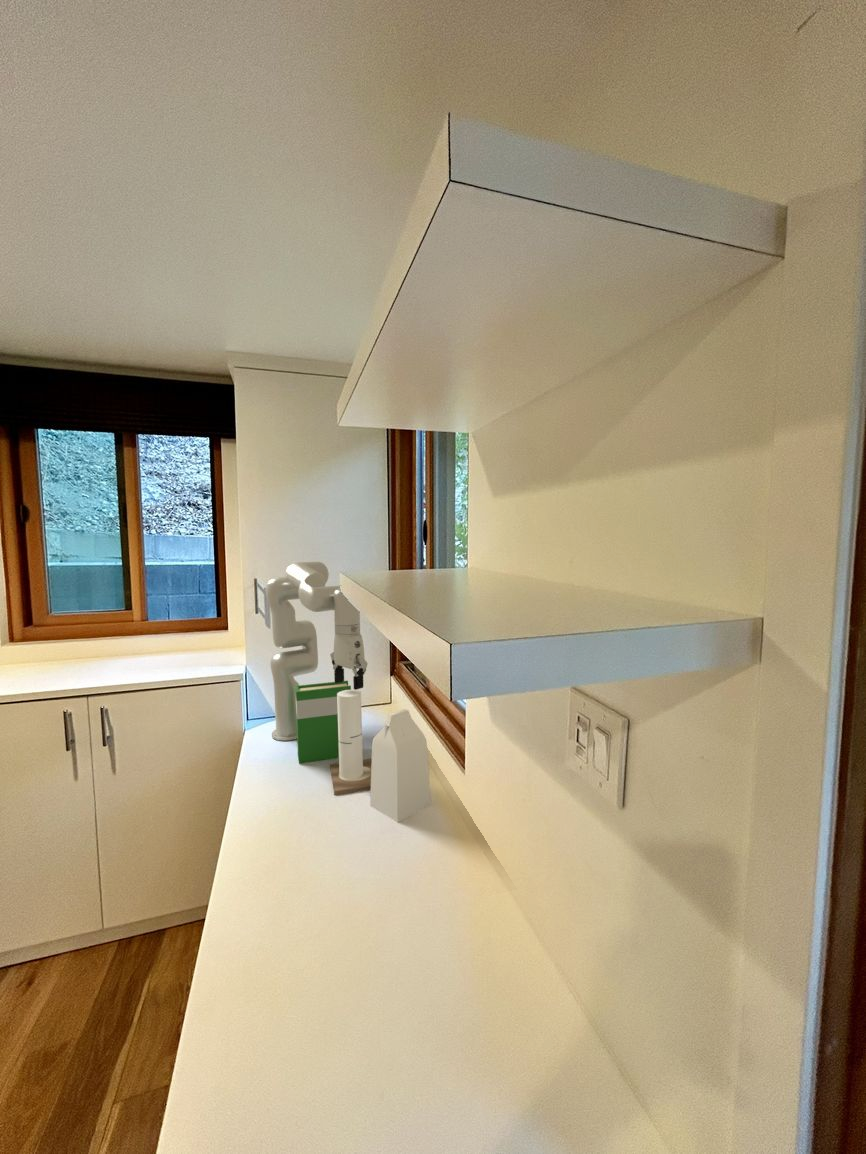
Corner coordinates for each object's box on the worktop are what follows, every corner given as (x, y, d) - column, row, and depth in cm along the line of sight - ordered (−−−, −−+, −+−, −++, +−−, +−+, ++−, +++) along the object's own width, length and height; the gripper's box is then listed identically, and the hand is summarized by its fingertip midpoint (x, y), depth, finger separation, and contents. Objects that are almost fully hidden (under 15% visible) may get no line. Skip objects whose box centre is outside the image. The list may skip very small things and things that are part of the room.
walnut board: (330, 767, 158) (330, 763, 158) (373, 761, 162) (373, 757, 162) (334, 794, 141) (334, 790, 141) (382, 787, 145) (382, 783, 145)
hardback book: (349, 747, 174) (347, 680, 172) (352, 755, 167) (350, 686, 165) (297, 754, 168) (295, 685, 167) (298, 764, 161) (296, 691, 160)
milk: (403, 790, 143) (401, 702, 141) (430, 804, 135) (429, 711, 133) (370, 805, 135) (367, 712, 133) (397, 822, 127) (395, 723, 125)
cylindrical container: (365, 775, 150) (363, 694, 148) (342, 780, 147) (340, 698, 145) (359, 766, 156) (357, 688, 154) (337, 770, 153) (334, 691, 151)
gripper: (375, 631, 145) (376, 688, 146) (341, 624, 157) (342, 677, 158) (354, 635, 139) (355, 694, 141) (320, 627, 152) (322, 682, 153)
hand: (348, 685), depth 150 cm, fingers open, 9 cm apart
